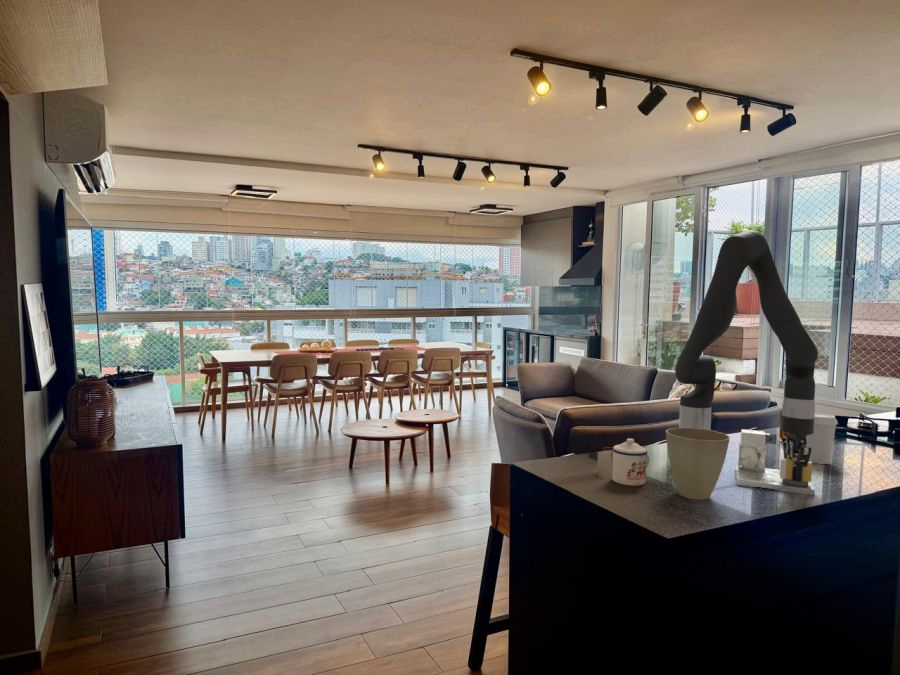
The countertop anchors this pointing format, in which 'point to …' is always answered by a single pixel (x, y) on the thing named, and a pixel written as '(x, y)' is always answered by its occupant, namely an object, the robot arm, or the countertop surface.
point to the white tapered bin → (822, 438)
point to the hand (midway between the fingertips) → (794, 478)
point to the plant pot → (696, 460)
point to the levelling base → (770, 484)
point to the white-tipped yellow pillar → (786, 473)
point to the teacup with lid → (629, 463)
